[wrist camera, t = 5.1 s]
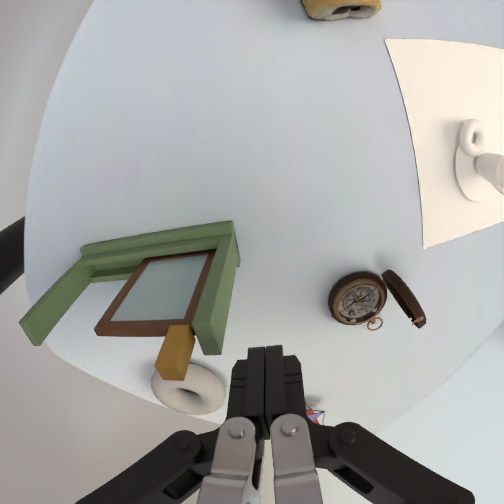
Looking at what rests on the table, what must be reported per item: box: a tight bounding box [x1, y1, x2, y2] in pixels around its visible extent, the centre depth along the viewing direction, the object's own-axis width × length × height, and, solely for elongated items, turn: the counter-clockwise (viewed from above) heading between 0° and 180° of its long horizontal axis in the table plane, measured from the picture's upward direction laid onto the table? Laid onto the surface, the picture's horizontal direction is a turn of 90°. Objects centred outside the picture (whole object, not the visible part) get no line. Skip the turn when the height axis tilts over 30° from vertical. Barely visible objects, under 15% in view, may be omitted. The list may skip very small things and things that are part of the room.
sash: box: [94, 248, 217, 381], centre depth 18 cm, size 7×1×13 cm, turn 99°
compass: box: [328, 270, 426, 331], centre depth 23 cm, size 8×8×7 cm
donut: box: [151, 363, 226, 415], centre depth 32 cm, size 10×4×10 cm
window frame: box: [19, 221, 240, 355], centre depth 20 cm, size 16×4×12 cm, turn 99°
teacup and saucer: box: [454, 118, 504, 204], centre depth 17 cm, size 9×8×4 cm
